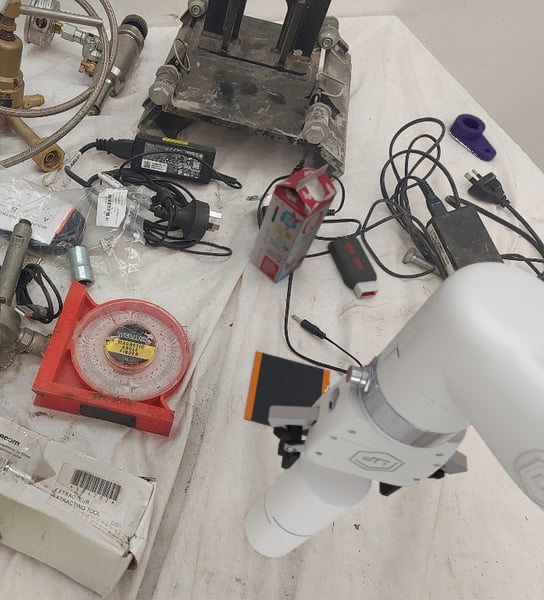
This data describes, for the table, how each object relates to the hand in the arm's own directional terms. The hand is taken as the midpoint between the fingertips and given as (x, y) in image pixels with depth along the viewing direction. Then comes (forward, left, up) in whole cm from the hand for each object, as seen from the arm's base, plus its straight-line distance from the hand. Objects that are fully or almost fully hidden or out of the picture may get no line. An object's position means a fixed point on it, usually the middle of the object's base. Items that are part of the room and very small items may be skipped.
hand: (334, 467), depth 57 cm
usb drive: (+24, -43, -25) cm, 55 cm away
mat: (+13, -16, -25) cm, 32 cm away
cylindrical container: (0, 0, -25) cm, 25 cm away
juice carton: (+33, -32, -25) cm, 52 cm away
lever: (+33, -93, -25) cm, 102 cm away
